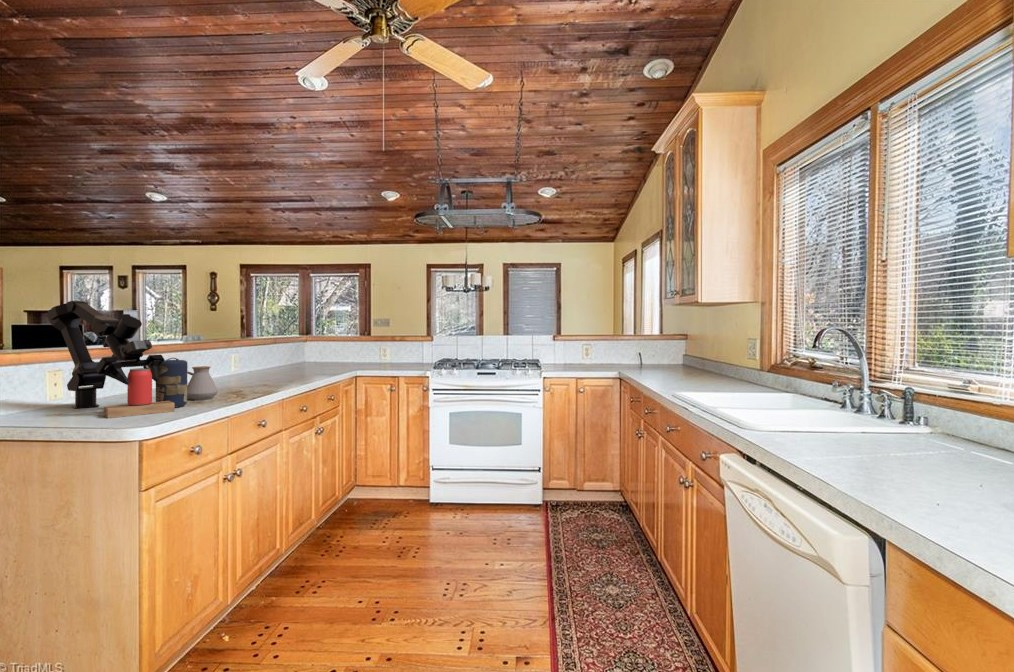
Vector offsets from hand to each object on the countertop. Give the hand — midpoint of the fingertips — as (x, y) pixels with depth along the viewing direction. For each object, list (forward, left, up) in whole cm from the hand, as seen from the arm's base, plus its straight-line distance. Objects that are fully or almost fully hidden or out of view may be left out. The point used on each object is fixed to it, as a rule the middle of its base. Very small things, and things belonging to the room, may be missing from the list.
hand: (143, 382), depth 161 cm
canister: (-9, +11, -11) cm, 18 cm away
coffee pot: (-26, +21, -11) cm, 35 cm away
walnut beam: (-1, 0, -11) cm, 11 cm away
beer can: (-1, -1, -8) cm, 8 cm away
